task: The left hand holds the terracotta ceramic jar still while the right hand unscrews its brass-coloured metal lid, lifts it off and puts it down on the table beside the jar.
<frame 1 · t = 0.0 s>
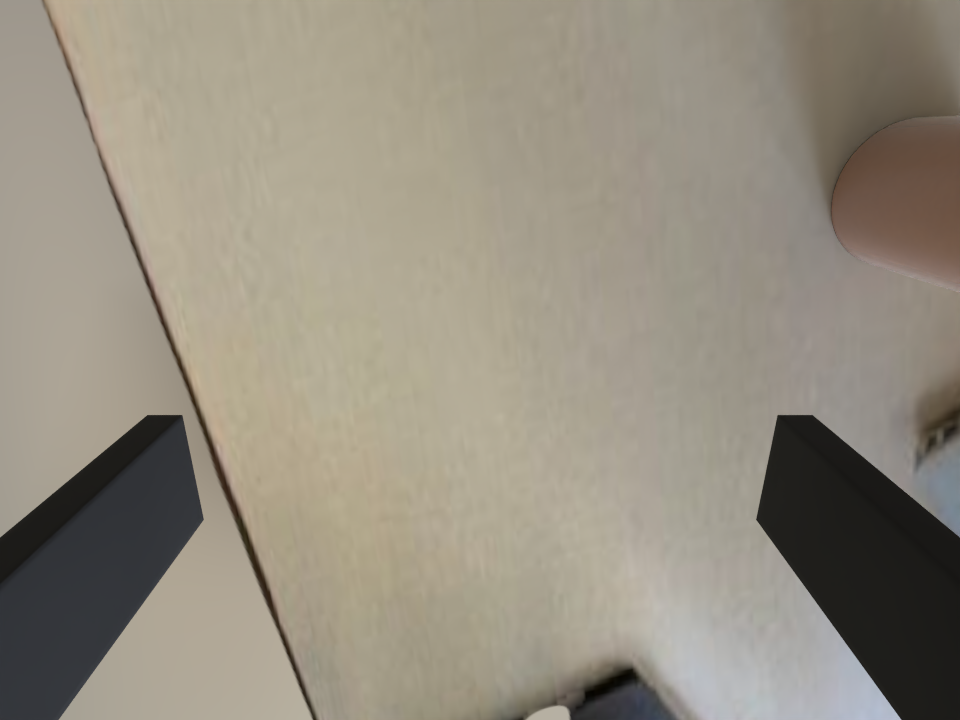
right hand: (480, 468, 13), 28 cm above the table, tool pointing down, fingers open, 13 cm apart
jar: (904, 194, 38), on the table
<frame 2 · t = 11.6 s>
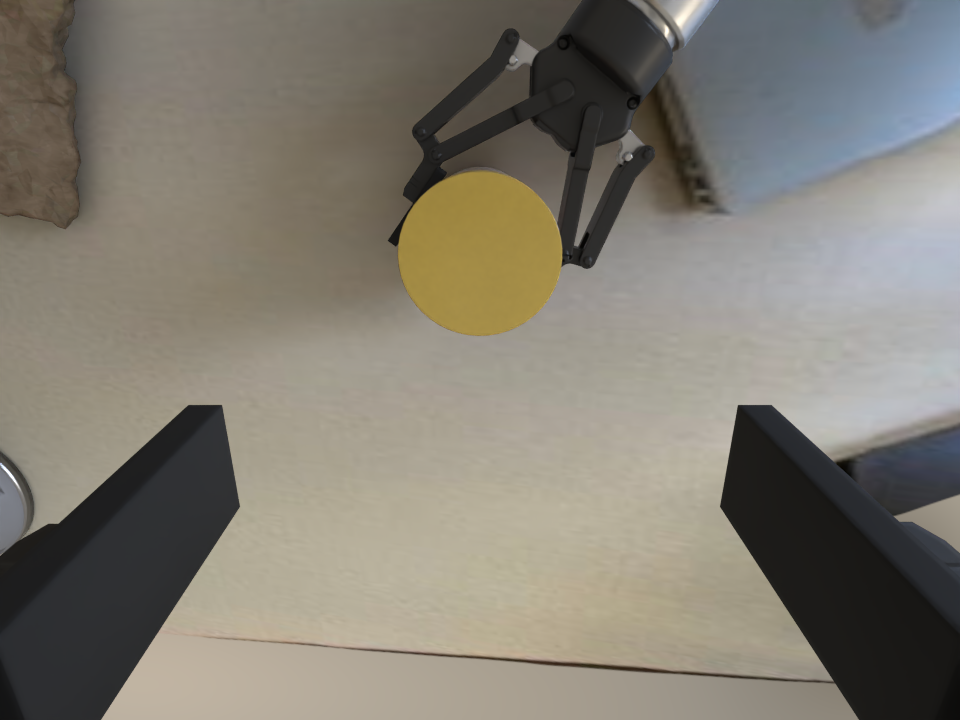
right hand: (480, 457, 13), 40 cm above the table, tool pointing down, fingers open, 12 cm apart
left hand: (447, 278, 46), fingers closed on jar, 9 cm apart
lid: (480, 256, 36), point 16 cm above the table, screwed on, not yet turned
stone: (12, 83, 47), on the table
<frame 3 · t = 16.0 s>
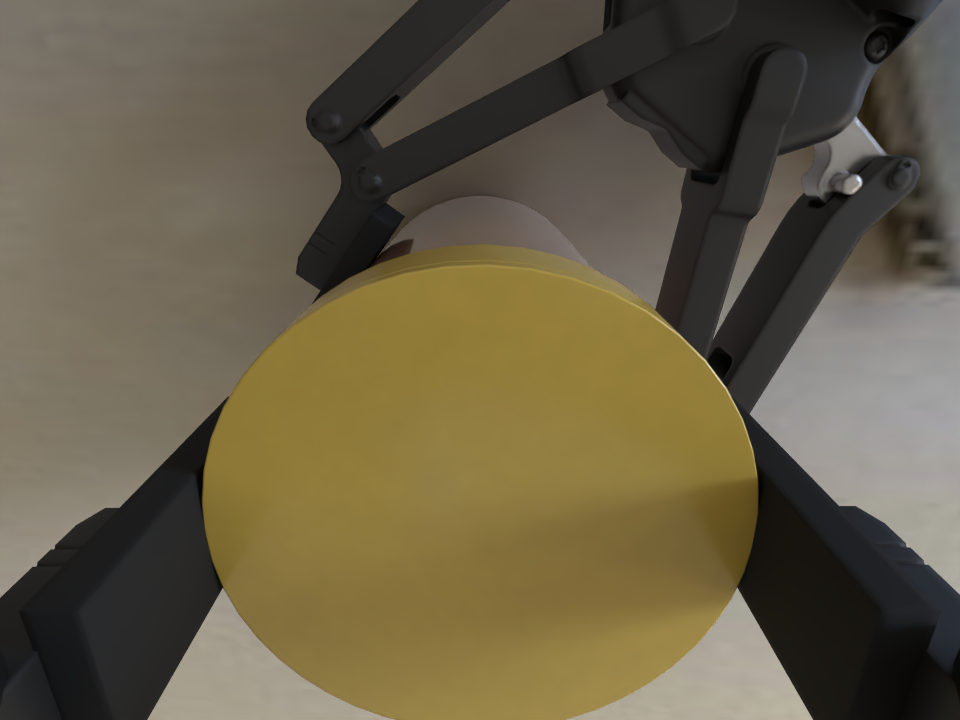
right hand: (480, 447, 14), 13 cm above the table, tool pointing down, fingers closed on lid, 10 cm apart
left hand: (408, 445, 21), fingers closed on jar, 9 cm apart
lid: (480, 526, 11), point 16 cm above the table, screwed on, not yet turned, touching right hand
jar: (480, 304, 26), on the table, touching left hand
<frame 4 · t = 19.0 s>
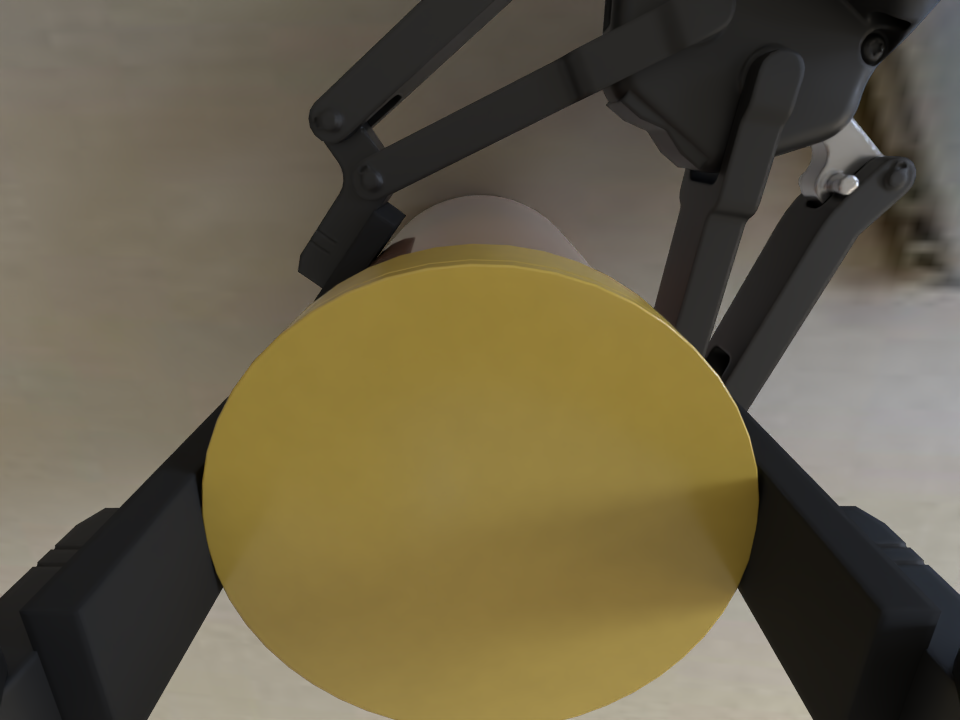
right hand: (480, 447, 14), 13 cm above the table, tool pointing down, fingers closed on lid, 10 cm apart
left hand: (408, 442, 21), fingers closed on jar, 9 cm apart
lid: (480, 526, 11), point 16 cm above the table, turned 78° so far, risen 0.2 cm, still on its thread, touching right hand
jar: (480, 303, 26), on the table, touching left hand
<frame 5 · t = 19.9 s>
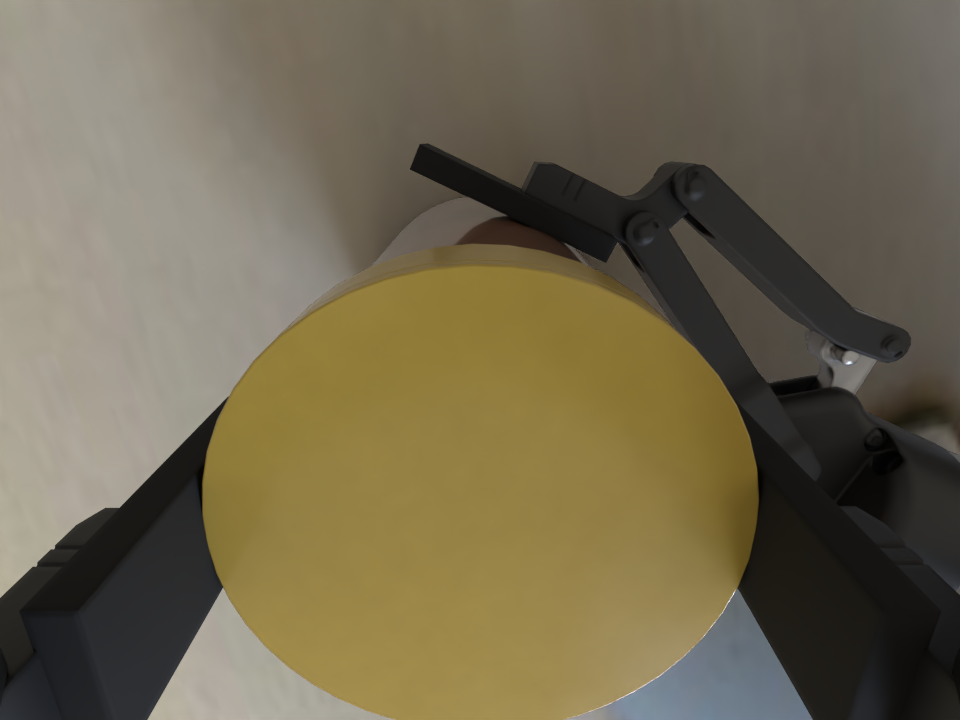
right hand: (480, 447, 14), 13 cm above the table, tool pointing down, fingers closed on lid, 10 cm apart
lid: (480, 526, 11), point 16 cm above the table, off its thread, touching right hand
jar: (480, 303, 26), on the table, touching left hand
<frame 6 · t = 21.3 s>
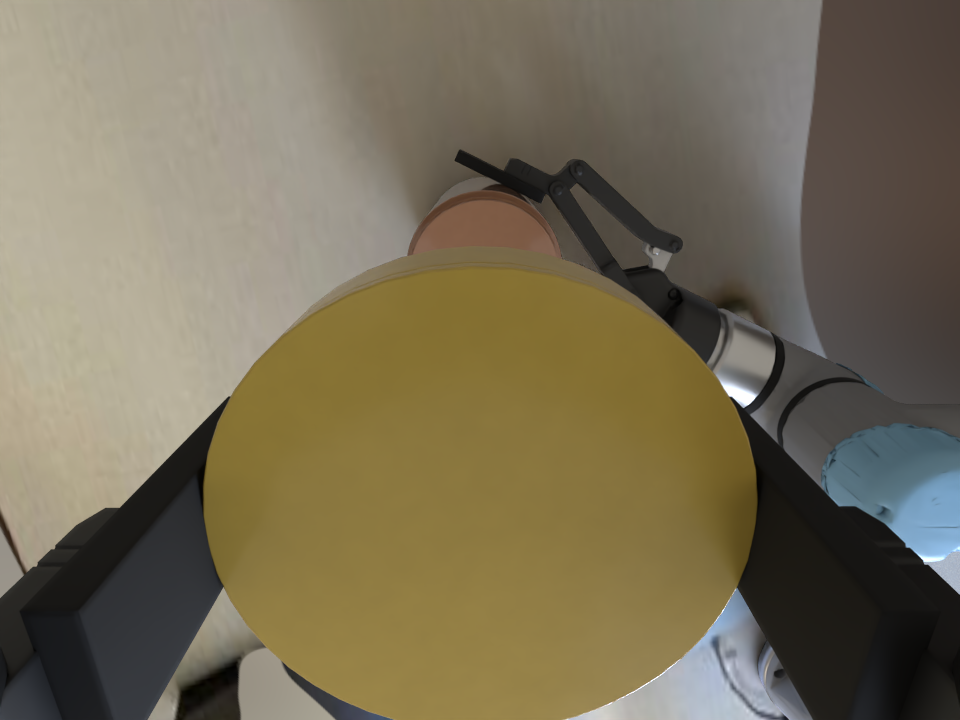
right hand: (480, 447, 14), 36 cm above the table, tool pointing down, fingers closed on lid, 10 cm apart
lid: (480, 527, 11), point 39 cm above the table, off its thread, touching right hand
jar: (483, 236, 48), on the table, touching left hand
when the right hand's fingers open (0 cm above the table, at t = 30.0 s): lid drops 2 cm, point 2 cm above the table.
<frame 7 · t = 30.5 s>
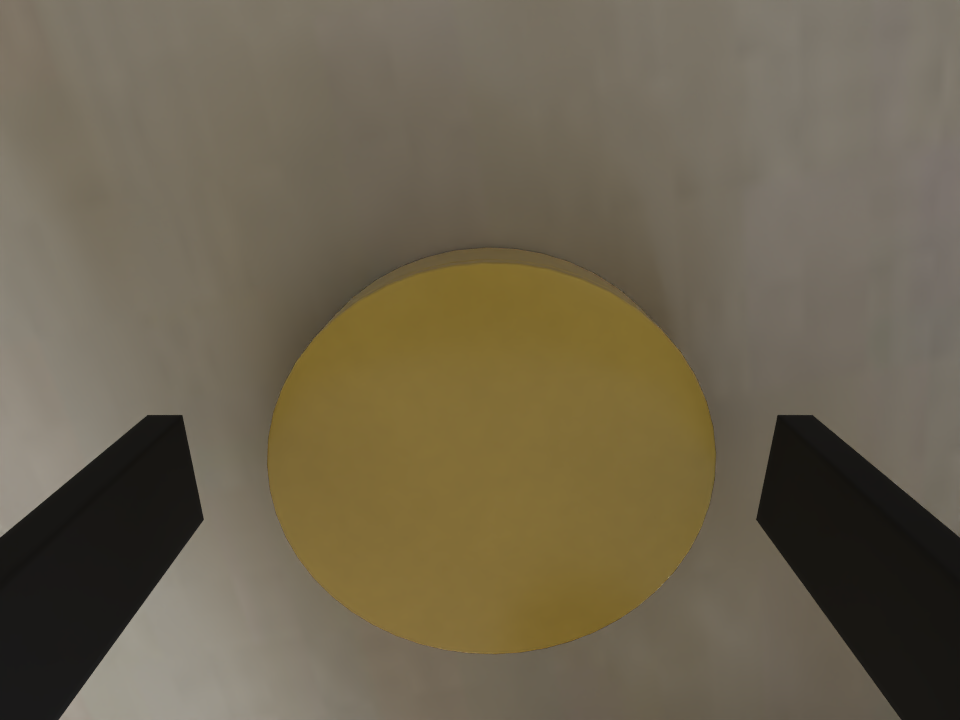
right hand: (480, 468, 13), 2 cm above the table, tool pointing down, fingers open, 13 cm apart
lid: (490, 476, 14), point 2 cm above the table, off its thread
when the left hand's fingers open (6 cm above the table, at t = 31.0 s): jar stays where it is, on the table.
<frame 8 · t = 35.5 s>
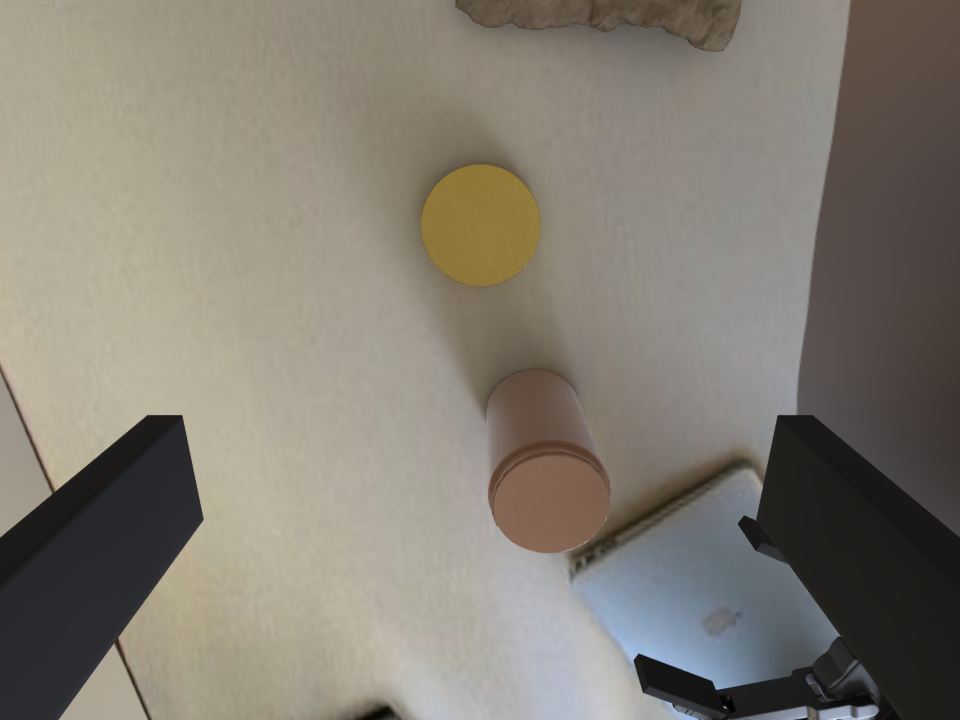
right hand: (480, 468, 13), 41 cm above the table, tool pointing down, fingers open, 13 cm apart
lid: (480, 227, 50), point 2 cm above the table, off its thread
jar: (533, 412, 58), on the table
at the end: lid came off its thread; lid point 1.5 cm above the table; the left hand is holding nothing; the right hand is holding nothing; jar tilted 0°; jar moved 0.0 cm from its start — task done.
